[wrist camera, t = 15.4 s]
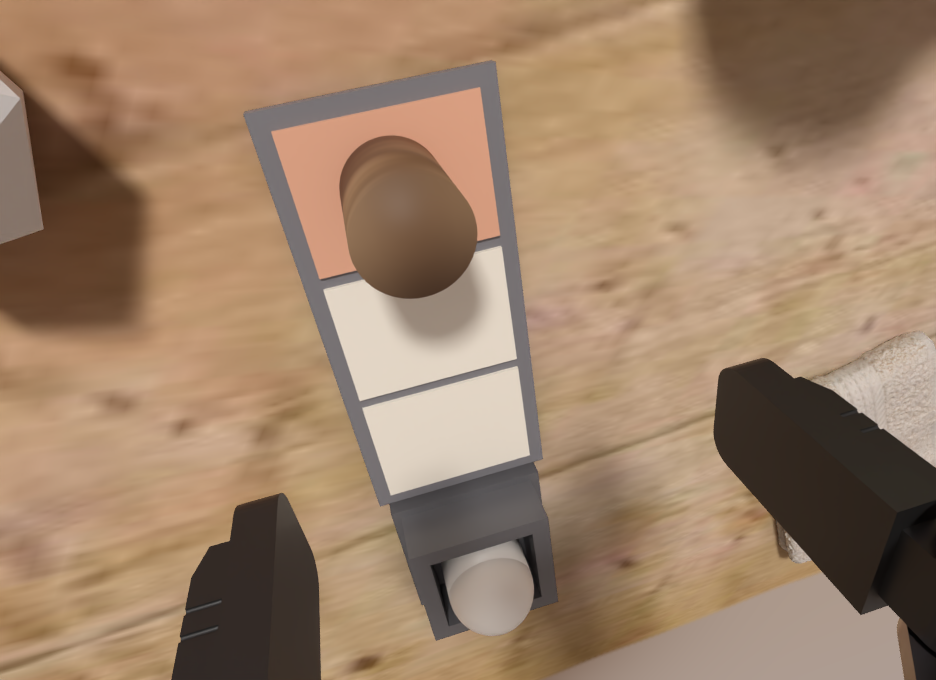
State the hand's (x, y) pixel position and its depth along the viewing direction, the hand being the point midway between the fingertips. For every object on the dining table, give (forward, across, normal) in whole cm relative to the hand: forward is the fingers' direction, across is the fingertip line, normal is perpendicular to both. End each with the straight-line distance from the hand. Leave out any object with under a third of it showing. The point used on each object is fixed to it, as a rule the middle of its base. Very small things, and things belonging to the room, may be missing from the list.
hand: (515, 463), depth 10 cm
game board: (+18, 0, +7) cm, 19 cm away
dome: (+17, 0, +23) cm, 28 cm away
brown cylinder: (+17, 0, 0) cm, 17 cm away
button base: (+18, 0, +23) cm, 29 cm away
